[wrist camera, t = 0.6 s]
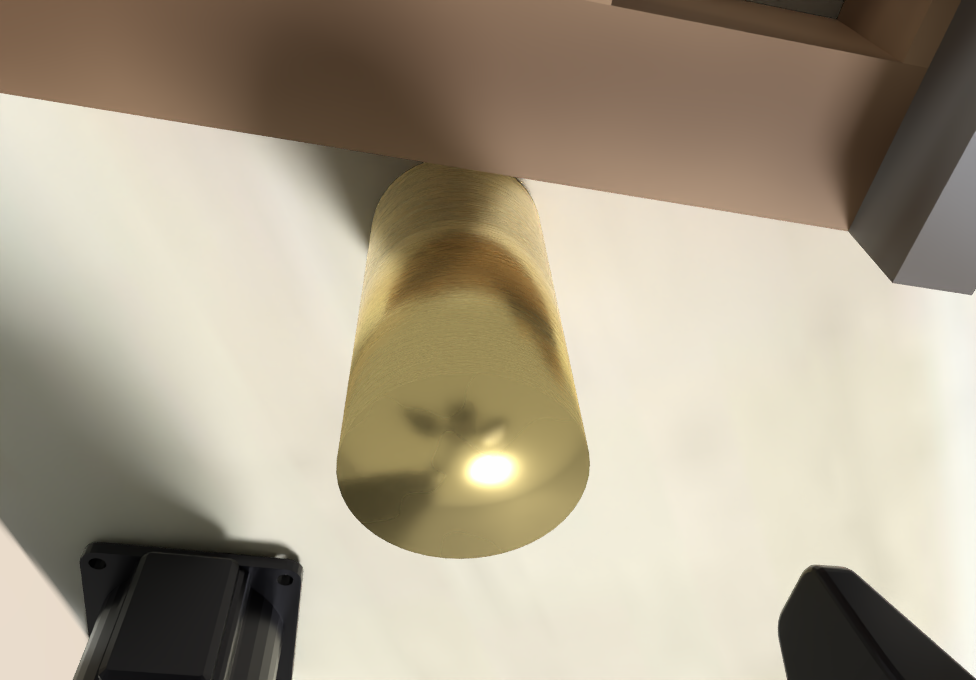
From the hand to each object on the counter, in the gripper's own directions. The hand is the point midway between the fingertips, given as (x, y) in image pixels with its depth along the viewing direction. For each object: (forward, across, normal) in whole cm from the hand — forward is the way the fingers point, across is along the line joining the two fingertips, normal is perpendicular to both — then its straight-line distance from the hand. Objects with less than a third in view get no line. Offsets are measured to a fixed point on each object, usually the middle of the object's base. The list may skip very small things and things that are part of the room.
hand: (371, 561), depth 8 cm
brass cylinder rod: (+12, -2, +2) cm, 12 cm away
